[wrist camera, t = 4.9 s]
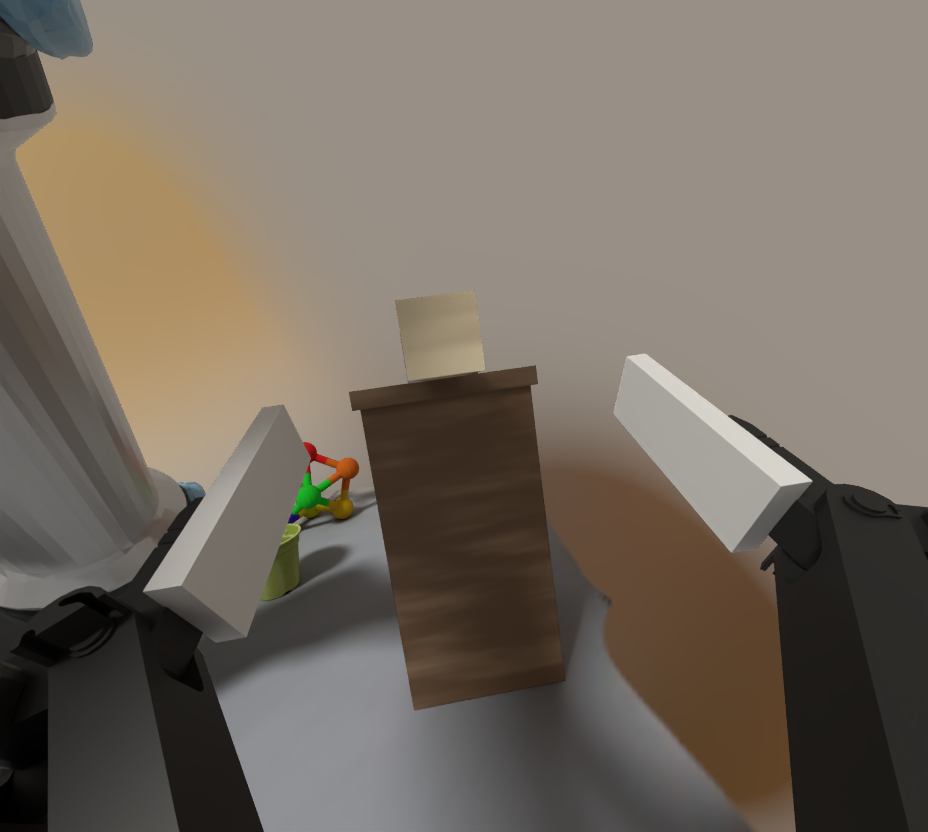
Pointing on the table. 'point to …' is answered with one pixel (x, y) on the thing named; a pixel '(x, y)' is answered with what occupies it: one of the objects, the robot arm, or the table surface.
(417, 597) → the stand
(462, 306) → the mallet
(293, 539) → the plant pot
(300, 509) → the molecular model
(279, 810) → the table surface
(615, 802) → the table surface
